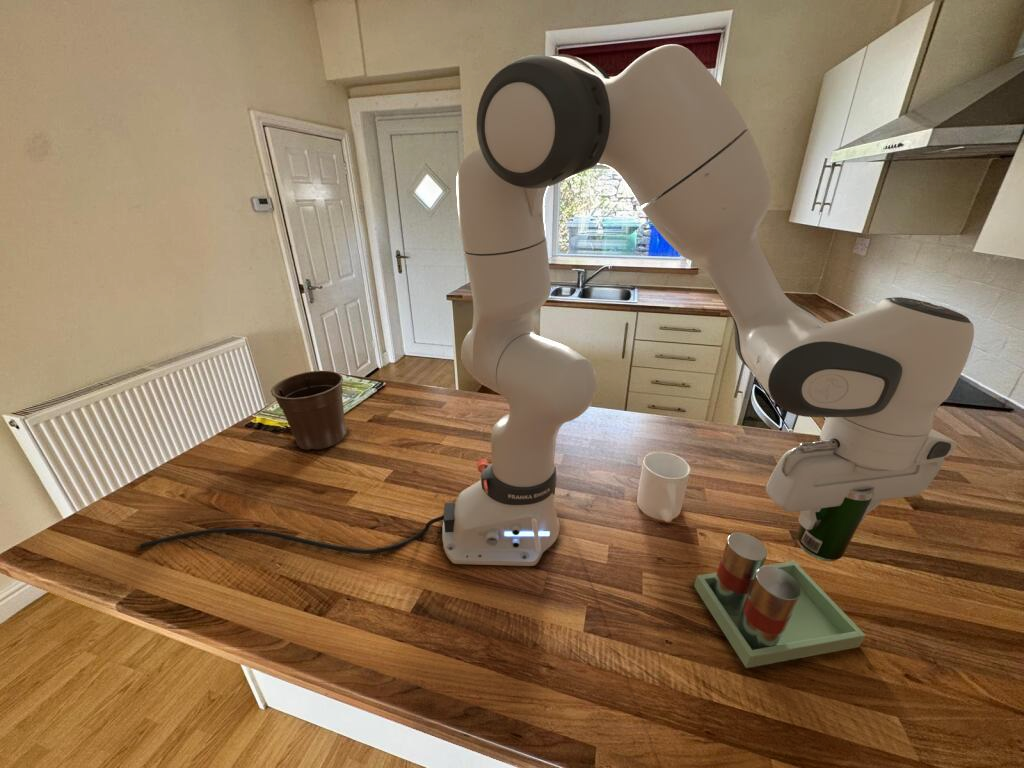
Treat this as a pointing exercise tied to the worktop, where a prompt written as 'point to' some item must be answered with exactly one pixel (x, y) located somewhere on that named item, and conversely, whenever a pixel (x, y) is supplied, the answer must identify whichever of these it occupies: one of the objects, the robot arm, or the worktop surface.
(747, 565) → the silver can left
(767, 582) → the silver can right
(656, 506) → the mug
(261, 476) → the worktop surface
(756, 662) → the can tray
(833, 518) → the beer can
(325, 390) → the plant pot
